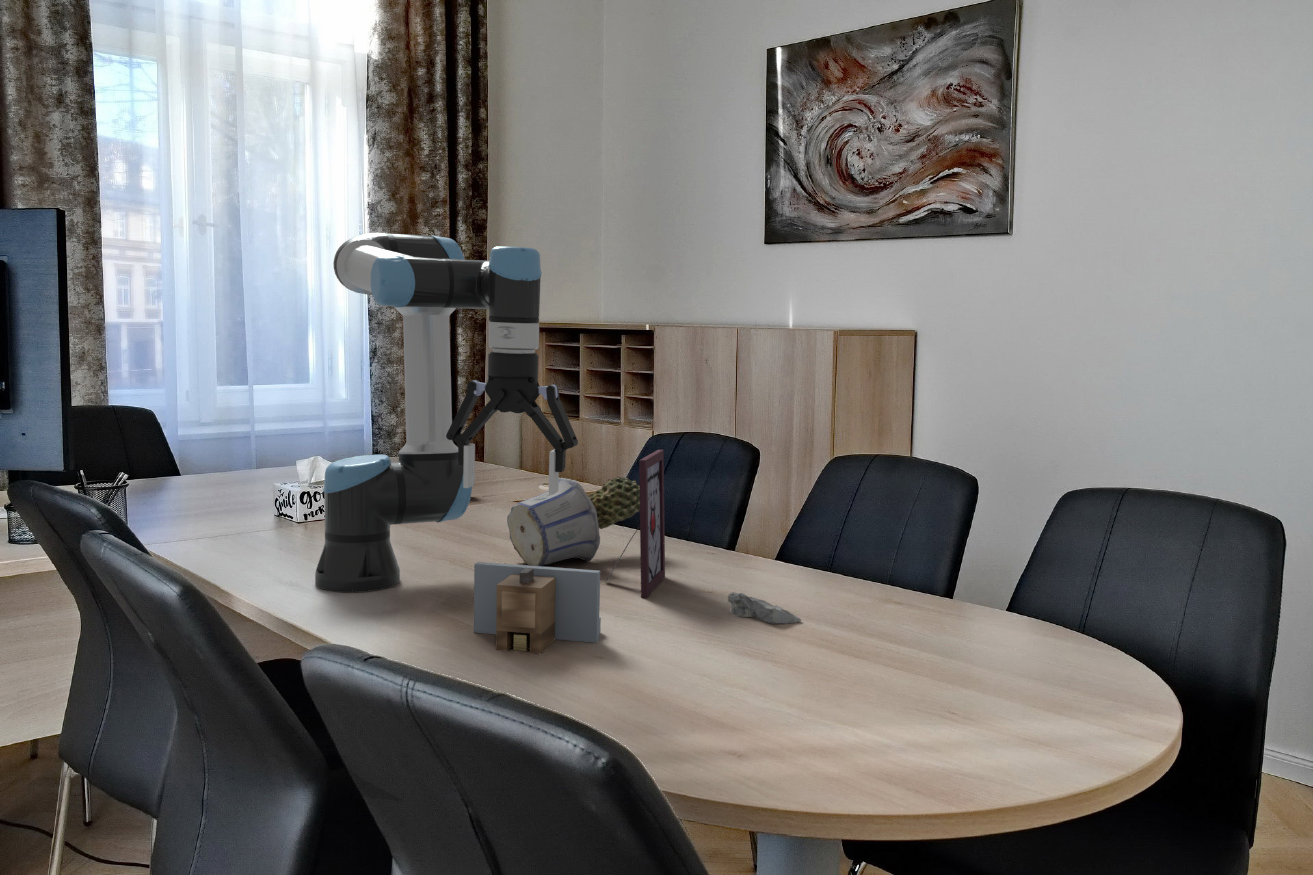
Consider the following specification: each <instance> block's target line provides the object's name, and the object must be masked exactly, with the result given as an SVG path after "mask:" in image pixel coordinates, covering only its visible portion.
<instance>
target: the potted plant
mask: <svg viewBox="0 0 1313 875" xmlns="http://www.w3.org/2000/svg"><path fill="white" fill-rule="evenodd" d="M636 513H640V484H637V481H636V480H631V479H629V478H628V477H619V476H616V477H614V478H613V479H612V478H611V479H610V478H608V480H607V482H605V483H603V484H602V486H601V489H600V488H599V489H597V490H595V491H593V492H591V493H589V494H587V492H586V491H585V489H584V487H583V486H582V485H581V483H579V481H577V480H574V479H572V478H565V477H559V489H558V492H557V493H555V494H554V495H551V494H549V490H547V491H545V492H543V493H541V494H538V495H536V496H535V495H534V496H533V497H530V498H527V499H524V500H521V501H519V502H517V503H515V504H514V505H513V506H512V507H511V509H510V512H509V513H508V514H507V519H506V520H507V522H506V523H507V527H508V532H509V539H510V541H511V543H512V544H511V545H512V546H513V548H514V550H515V551H516V553H517V554H518V555H519V558H521V559H522V561H523V562H524V563H525V565H528V566H542V567H545V566H547V565H551V564H553V563H554V564H555V563H556V562H560V561H564V560H568V559H571V558H572V559H573V558H574V559H575V558H578V559H582V560H583V561H586V562H592V560H593V559H594V557H595V555H596V554H597V551H598V550H599V547H600V544H601V535H600V530H603V529H607V528H609V527H610V526H612V525H614V524H616V523H617V522H621V521H625V520H626V519H629V518H632V517H633V516H635V515H636Z"/></svg>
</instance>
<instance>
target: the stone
mask: <svg viewBox="0 0 1313 875" xmlns="http://www.w3.org/2000/svg"><path fill="white" fill-rule="evenodd" d="M727 597H728V598H727V602H728V603H730V605H731V607H730V610H729V613H730V614H732V615H734V616H736V617H740V618H756V619H757V620H761V621H764V622H766V623H769V624H795V623H798V622H801V621H802V619H801V618H800V617H799V616H797V615H796V614H794V613H791V612H790V611H788V610H786V609H784V608H782V607H780V606H778V605H773V604H771V603H769V602H767V601H766V600H764V599H761V598H758V597H752V596H748V595H746V593H743V592H740V593H737V592H734V591H732V592H730V593H729V594H728V595H727Z"/></svg>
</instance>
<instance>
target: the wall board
mask: <svg viewBox="0 0 1313 875" xmlns="http://www.w3.org/2000/svg"><path fill="white" fill-rule="evenodd" d="M473 567H474V568H473V569H474V571H473V573H474V574H473V579H474V580H473V592H474V594H473V595H474V596H473V633H479V634H489V635H490V634H492V635H496V594H497V584H498V583H500V582H501V581H503V580H504V579H506V578H507V577H509V576H510V575H512V574H517V575H520V572H521V571H523V570H524V569H525V568H531V569H534V572H533V576H545V577H556V578H555V640H561V641H562V640H563V641H572V642H584V643H593V644H594V643H595V644H596V643H598V642H599V640H600V634H601V627H602V626H601V624H602V623H601V620H602V618H601V617H600V612H601V611H600V607H601V606H600V605H601V604H600V603H601V601H600V600H601V599H600V598H601V595H600V594H601V570H595V569H594V570H593V569H581V568H579V569H578V568H569V567H567V568H566V567H565V568H564V567H555V566H554V567H553V566H530V565H527V564H513V563H512V564H511V563H499V562H498V563H497V562H485V561H483V562H482V561H477V562H475V563H474V565H473Z"/></svg>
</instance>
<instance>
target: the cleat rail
mask: <svg viewBox="0 0 1313 875" xmlns="http://www.w3.org/2000/svg"><path fill="white" fill-rule="evenodd" d="M528 650H530V633H520V632H516V633H515V634H514V645H513V651H519V652H527V651H528Z"/></svg>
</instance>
